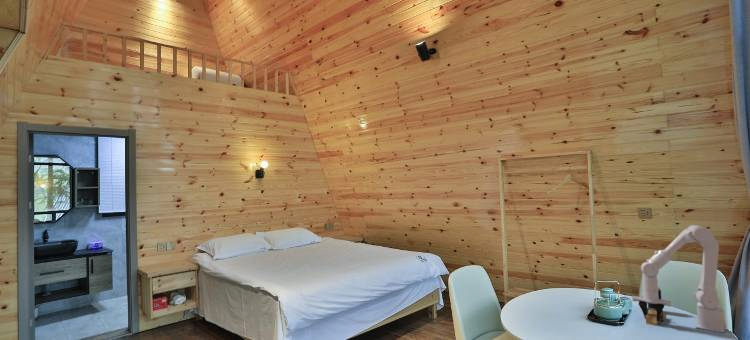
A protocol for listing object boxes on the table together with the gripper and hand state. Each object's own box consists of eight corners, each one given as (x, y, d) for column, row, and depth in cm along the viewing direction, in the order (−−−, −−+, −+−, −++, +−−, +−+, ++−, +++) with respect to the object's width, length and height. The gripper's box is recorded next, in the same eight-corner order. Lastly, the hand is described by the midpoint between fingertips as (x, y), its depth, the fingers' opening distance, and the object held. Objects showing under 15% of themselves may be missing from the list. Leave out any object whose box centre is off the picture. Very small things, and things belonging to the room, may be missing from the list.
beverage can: (664, 313, 201) (662, 288, 201) (651, 313, 202) (649, 288, 202) (658, 309, 206) (657, 285, 207) (646, 309, 207) (644, 285, 208)
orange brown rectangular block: (662, 318, 193) (661, 311, 194) (656, 325, 185) (656, 317, 185) (652, 317, 196) (651, 309, 196) (646, 323, 188) (645, 315, 188)
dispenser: (666, 318, 193) (665, 307, 194) (663, 321, 189) (662, 310, 190) (650, 315, 198) (649, 305, 198) (647, 318, 194) (646, 308, 194)
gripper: (629, 288, 191) (631, 318, 190) (667, 293, 181) (669, 325, 180) (634, 285, 196) (635, 314, 195) (671, 290, 186) (673, 321, 185)
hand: (652, 319), depth 188 cm, fingers closed on orange brown rectangular block, 4 cm apart
